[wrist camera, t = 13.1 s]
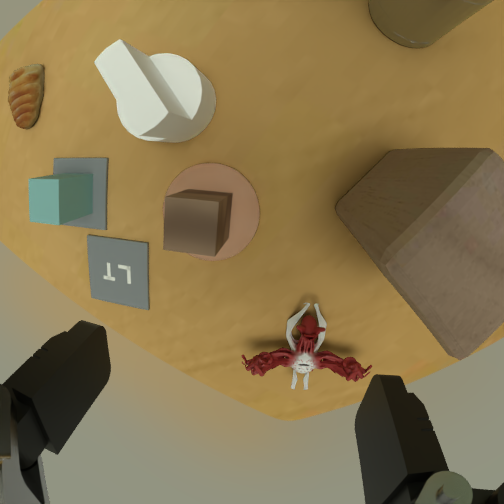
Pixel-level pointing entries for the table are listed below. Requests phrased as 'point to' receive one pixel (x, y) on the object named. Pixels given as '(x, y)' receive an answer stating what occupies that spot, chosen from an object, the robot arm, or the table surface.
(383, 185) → the block
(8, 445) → the robot arm
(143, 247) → the code tile
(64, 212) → the teal block
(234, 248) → the pink round disc
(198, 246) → the walnut block
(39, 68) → the pastry
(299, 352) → the figurine
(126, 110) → the cylinder with rectangular tab
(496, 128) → the table surface
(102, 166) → the code tile
